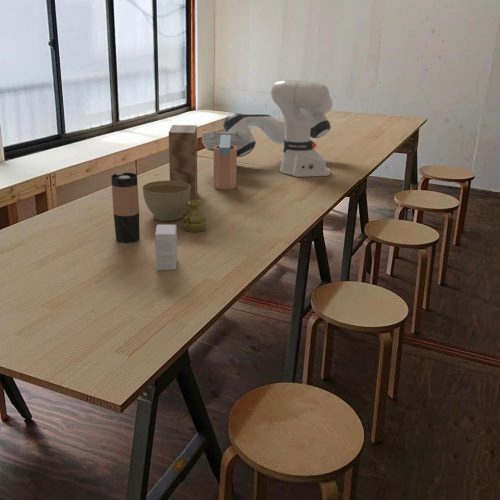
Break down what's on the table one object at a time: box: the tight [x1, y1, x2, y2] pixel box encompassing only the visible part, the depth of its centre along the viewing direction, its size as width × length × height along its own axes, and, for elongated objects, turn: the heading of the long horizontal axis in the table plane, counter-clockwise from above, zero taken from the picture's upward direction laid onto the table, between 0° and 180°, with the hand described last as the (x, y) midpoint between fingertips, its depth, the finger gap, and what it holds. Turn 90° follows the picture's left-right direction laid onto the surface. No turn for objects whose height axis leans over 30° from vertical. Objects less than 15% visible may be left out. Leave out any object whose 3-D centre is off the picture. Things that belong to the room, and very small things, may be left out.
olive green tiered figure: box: [182, 198, 207, 233], centre depth 190 cm, size 7×7×10 cm
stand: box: [168, 124, 198, 200], centre depth 217 cm, size 9×14×26 cm, turn 1°
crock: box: [213, 145, 238, 191], centre depth 234 cm, size 9×9×16 cm
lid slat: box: [219, 135, 231, 154], centre depth 231 cm, size 24×4×2 cm, turn 1°
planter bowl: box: [141, 180, 191, 222], centre depth 199 cm, size 16×16×11 cm
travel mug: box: [111, 172, 141, 244], centre depth 178 cm, size 8×8×20 cm
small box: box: [154, 224, 178, 271], centre depth 163 cm, size 8×6×10 cm
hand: (225, 132), depth 242 cm, fingers open, 8 cm apart
